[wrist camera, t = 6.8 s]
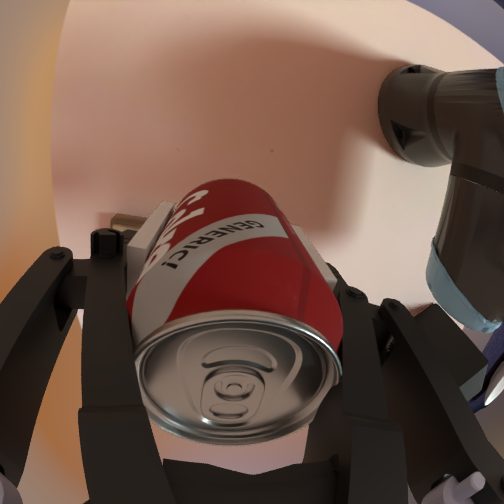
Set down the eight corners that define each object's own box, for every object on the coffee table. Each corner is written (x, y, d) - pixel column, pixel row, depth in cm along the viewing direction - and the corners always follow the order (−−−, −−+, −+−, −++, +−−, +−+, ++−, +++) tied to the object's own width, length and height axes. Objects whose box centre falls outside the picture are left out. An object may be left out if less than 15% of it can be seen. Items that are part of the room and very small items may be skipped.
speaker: (343, 391, 54) (370, 460, 37) (327, 367, 50) (357, 447, 33) (439, 332, 50) (482, 389, 34) (434, 301, 46) (489, 362, 29)
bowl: (489, 390, 75) (496, 399, 69) (470, 400, 73) (477, 410, 68) (525, 335, 62) (533, 344, 57) (509, 342, 61) (518, 353, 55)
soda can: (293, 186, 16) (410, 302, 6) (270, 285, 19) (315, 450, 8) (178, 168, 15) (80, 264, 4) (169, 273, 18) (122, 440, 7)
